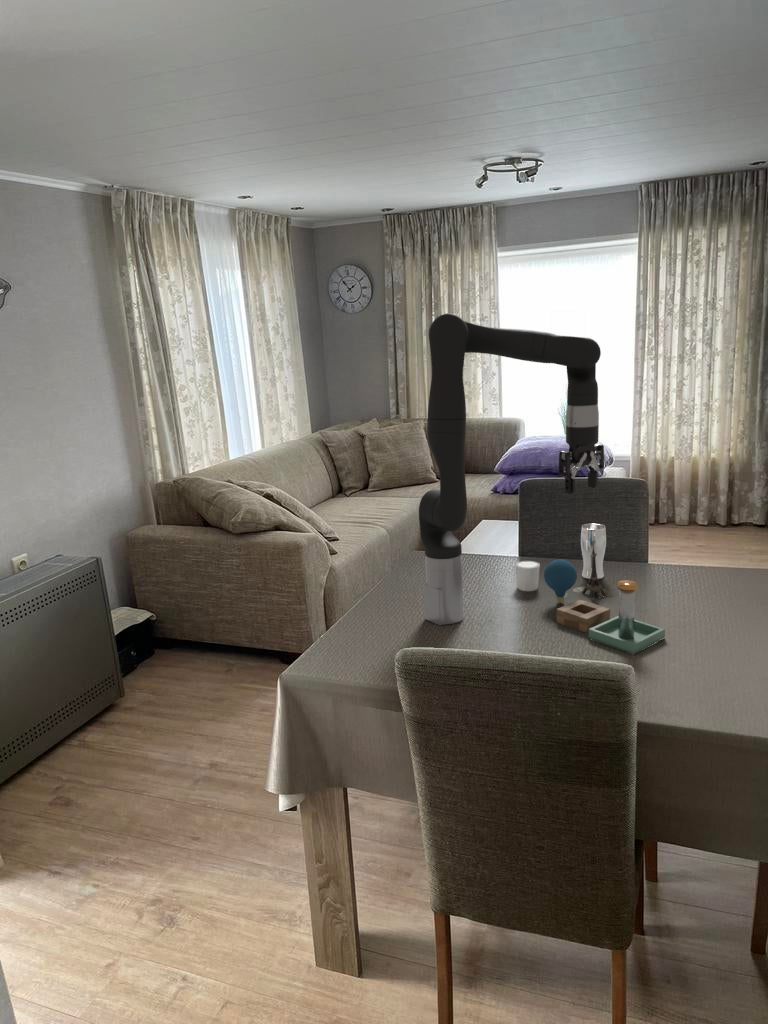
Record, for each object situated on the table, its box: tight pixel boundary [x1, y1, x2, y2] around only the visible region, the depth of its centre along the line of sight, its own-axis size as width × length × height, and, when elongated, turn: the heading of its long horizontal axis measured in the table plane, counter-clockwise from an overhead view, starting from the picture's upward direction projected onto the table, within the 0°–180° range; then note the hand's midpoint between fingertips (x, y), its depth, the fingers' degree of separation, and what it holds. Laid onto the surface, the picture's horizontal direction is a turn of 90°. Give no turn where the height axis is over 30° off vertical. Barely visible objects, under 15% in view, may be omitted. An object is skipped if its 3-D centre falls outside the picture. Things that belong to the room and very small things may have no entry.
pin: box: [616, 580, 639, 640], centre depth 166 cm, size 4×4×13 cm
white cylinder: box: [514, 560, 541, 592], centre depth 203 cm, size 7×7×7 cm
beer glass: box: [580, 522, 607, 580], centre depth 208 cm, size 7×7×15 cm
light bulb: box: [543, 558, 578, 604], centre depth 190 cm, size 8×8×12 cm
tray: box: [588, 615, 666, 655], centre depth 167 cm, size 12×12×2 cm
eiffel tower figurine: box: [564, 553, 608, 601], centre depth 194 cm, size 15×10×13 cm
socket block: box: [556, 599, 611, 633], centre depth 178 cm, size 9×9×4 cm
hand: (581, 490), depth 176 cm, fingers open, 8 cm apart
